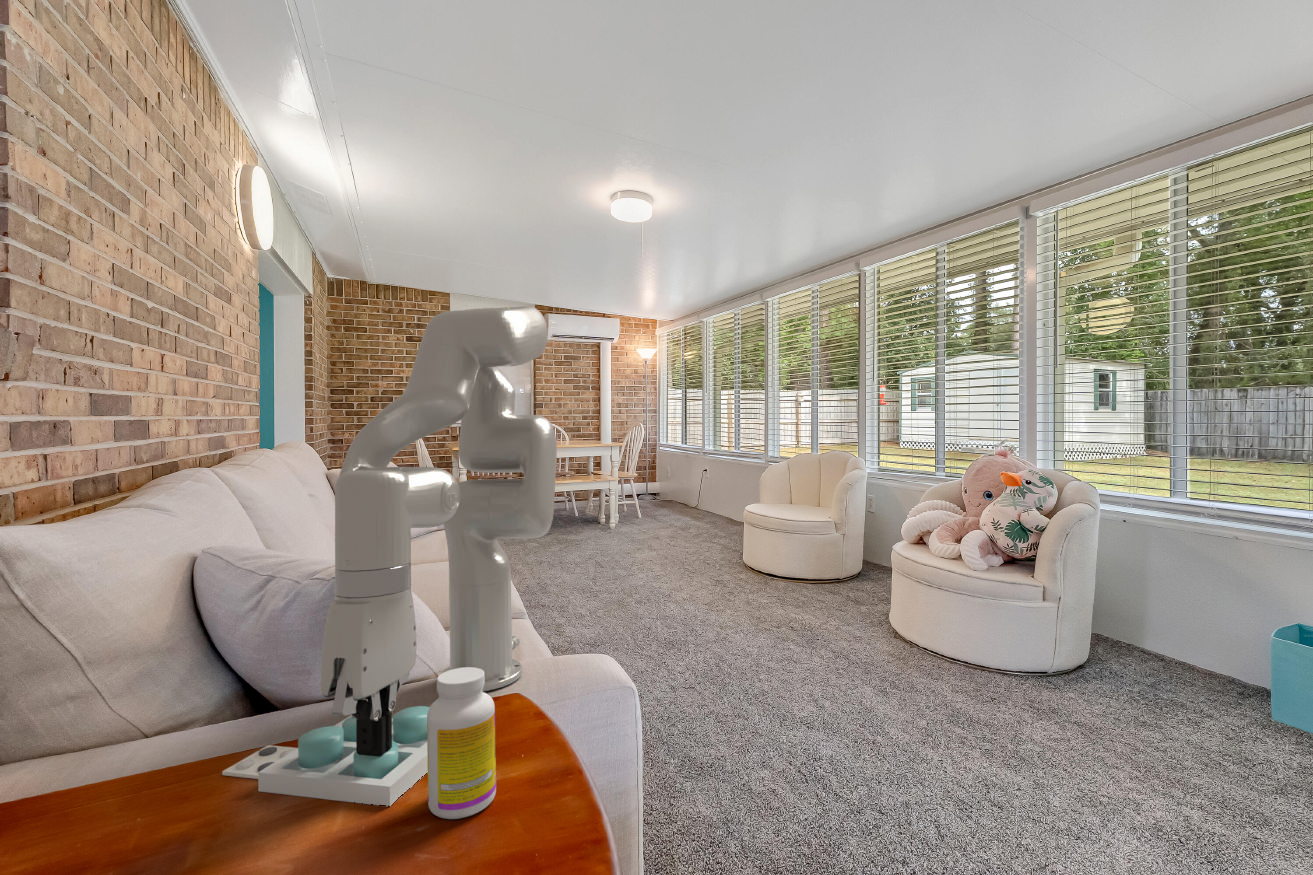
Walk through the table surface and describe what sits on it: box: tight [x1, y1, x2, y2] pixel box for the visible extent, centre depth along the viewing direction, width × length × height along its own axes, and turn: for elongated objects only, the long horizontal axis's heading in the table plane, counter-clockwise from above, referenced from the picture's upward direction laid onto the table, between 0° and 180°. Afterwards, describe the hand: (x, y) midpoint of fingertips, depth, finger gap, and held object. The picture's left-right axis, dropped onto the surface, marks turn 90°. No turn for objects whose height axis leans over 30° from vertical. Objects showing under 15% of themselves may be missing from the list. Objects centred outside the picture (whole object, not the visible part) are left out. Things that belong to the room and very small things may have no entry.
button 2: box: [342, 717, 356, 742], centre depth 71 cm, size 4×4×2 cm
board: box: [257, 714, 428, 807], centre depth 67 cm, size 14×16×2 cm
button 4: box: [392, 705, 430, 744], centre depth 70 cm, size 4×4×2 cm
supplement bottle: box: [427, 667, 497, 820], centre depth 60 cm, size 7×7×13 cm
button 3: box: [353, 741, 398, 779], centre depth 63 cm, size 4×4×2 cm
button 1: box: [297, 725, 344, 768], centre depth 65 cm, size 4×4×2 cm
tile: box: [221, 744, 298, 780], centre depth 68 cm, size 6×6×1 cm
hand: (374, 751), depth 63 cm, fingers closed
